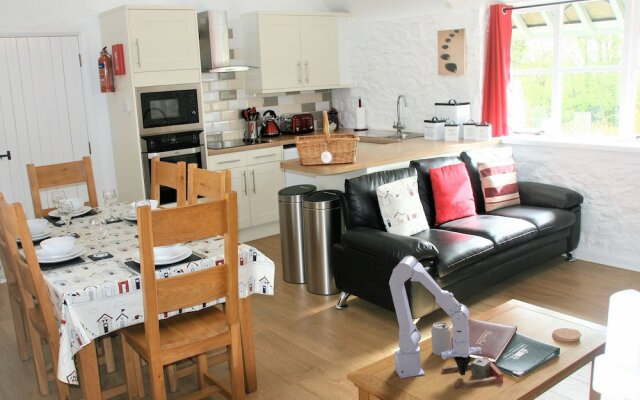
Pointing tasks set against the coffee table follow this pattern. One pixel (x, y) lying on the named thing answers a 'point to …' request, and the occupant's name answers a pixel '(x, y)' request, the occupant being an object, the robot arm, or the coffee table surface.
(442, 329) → the can
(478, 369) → the dice cube
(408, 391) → the coffee table surface
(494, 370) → the guide channel
